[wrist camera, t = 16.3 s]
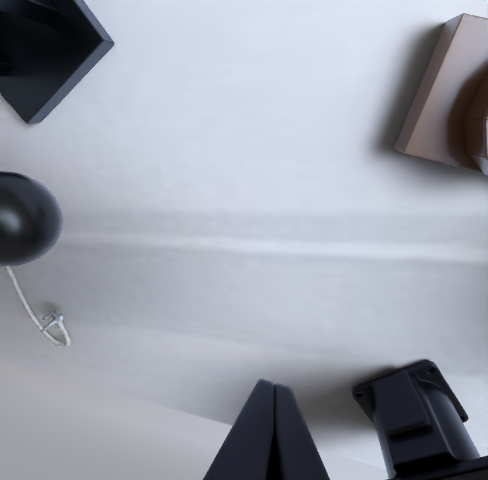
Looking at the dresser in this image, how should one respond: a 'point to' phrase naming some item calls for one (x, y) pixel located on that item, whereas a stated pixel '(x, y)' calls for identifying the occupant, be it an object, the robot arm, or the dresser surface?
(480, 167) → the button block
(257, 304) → the dresser surface
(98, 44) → the bracket
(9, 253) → the lever
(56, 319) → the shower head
